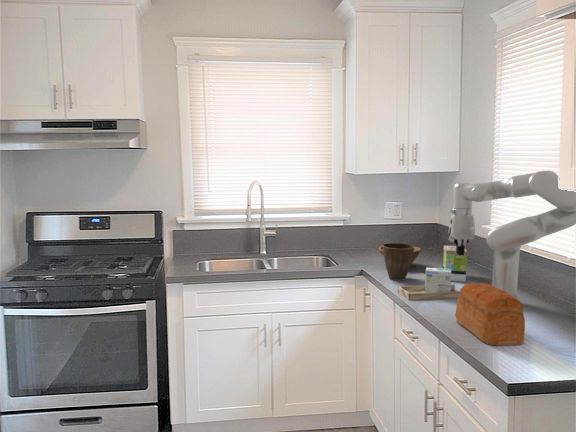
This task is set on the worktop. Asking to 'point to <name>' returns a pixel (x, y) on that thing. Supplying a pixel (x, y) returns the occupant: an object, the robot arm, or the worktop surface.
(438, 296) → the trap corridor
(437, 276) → the light bulb box
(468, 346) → the worktop surface
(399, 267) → the plant pot
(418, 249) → the bowl
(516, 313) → the bread
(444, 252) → the tea box
